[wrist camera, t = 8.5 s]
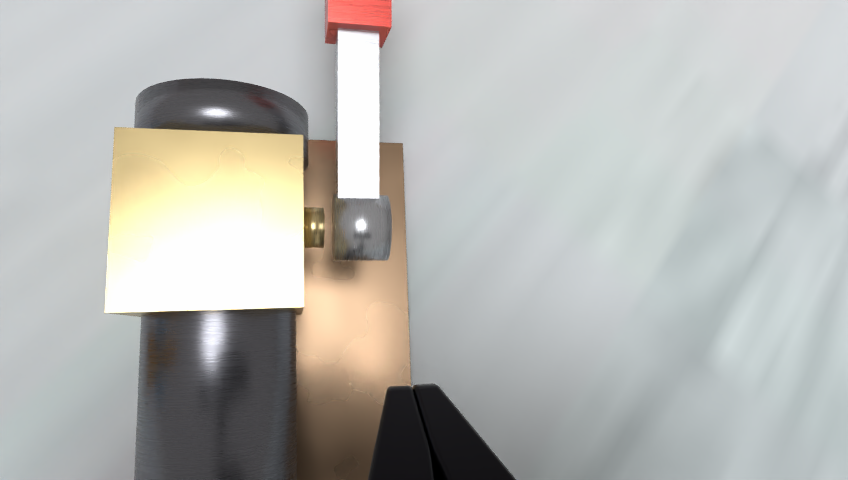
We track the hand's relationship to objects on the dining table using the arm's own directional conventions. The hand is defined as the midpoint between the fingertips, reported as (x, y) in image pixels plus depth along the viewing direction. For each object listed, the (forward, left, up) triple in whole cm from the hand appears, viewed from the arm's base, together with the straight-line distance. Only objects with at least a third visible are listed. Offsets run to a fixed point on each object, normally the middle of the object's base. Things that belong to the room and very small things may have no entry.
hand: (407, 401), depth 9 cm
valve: (+2, +1, -13) cm, 13 cm away
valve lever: (+4, -2, -7) cm, 8 cm away
